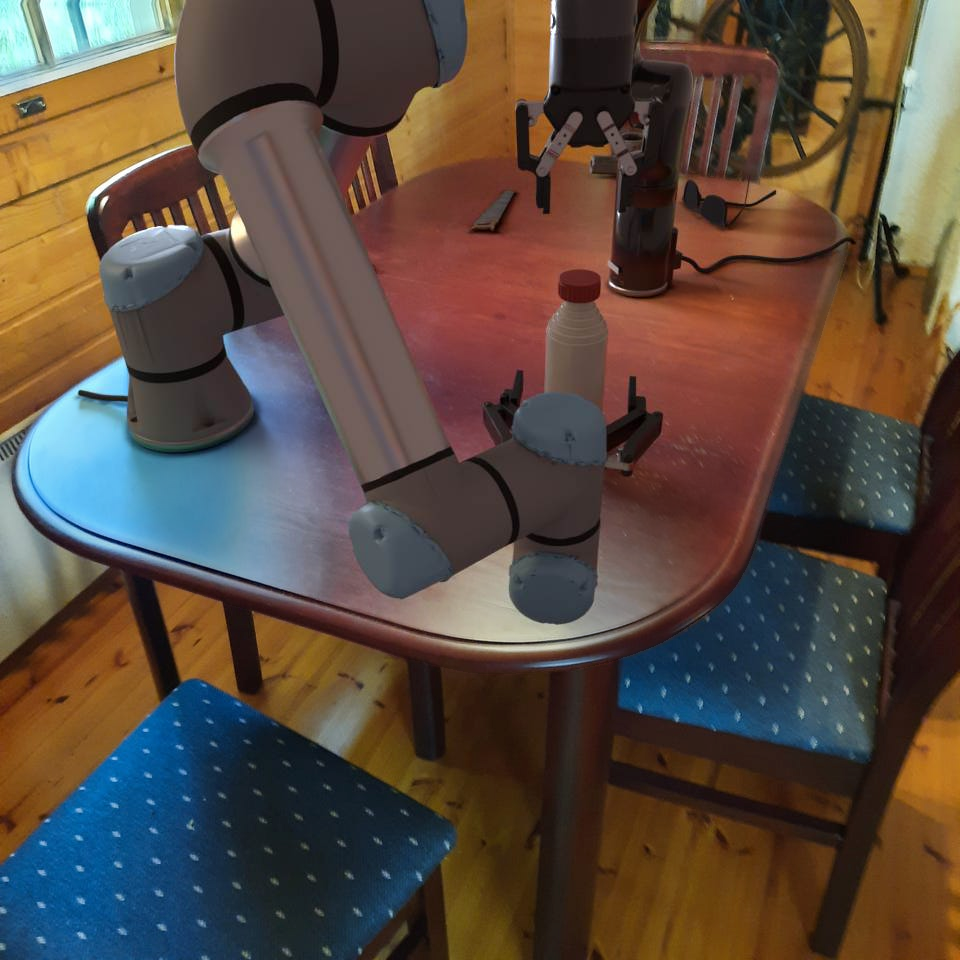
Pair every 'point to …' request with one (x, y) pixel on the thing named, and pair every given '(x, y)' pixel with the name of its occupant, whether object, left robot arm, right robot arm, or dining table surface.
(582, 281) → the cap
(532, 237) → the dining table surface
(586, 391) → the bottle
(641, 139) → the pipe
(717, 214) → the sunglasses
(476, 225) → the grey flat bar
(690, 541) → the dining table surface
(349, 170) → the left robot arm
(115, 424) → the dining table surface
